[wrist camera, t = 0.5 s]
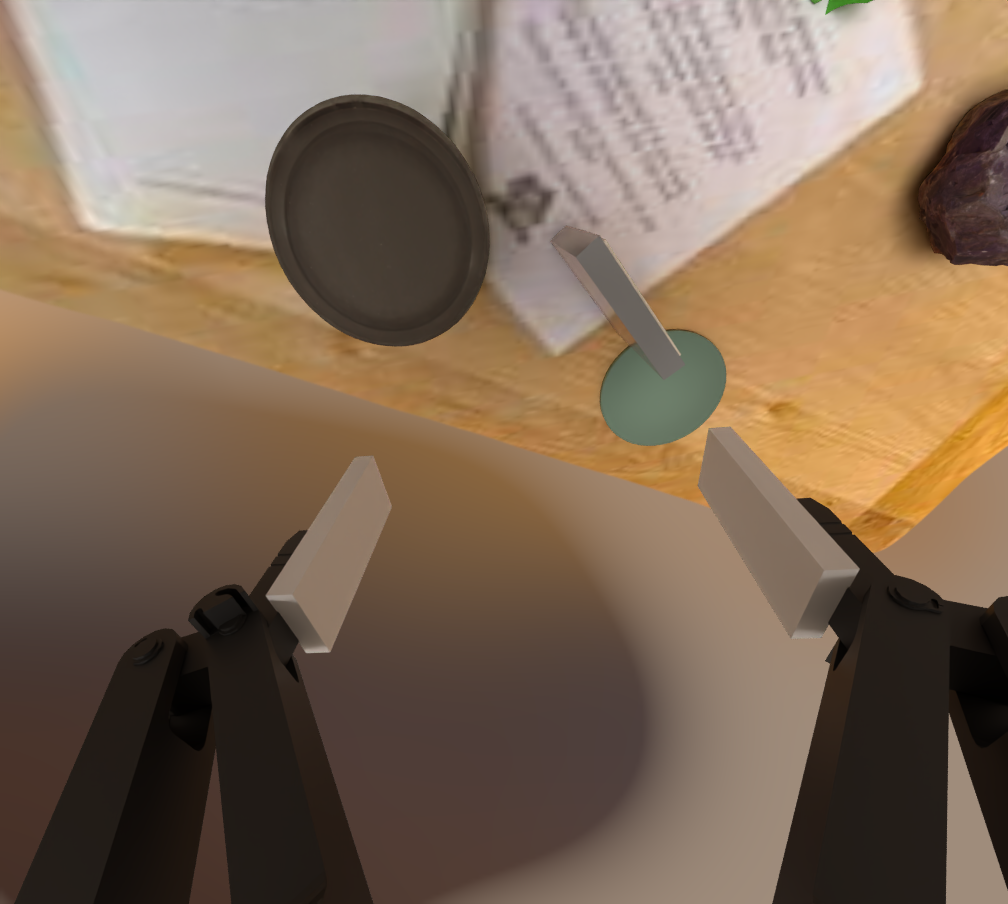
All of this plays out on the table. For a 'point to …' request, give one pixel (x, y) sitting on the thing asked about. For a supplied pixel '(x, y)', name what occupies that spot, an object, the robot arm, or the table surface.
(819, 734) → the robot arm
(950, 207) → the rock
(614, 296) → the slate tile
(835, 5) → the kitten
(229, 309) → the table surface
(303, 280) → the coffee can
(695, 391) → the coaster
